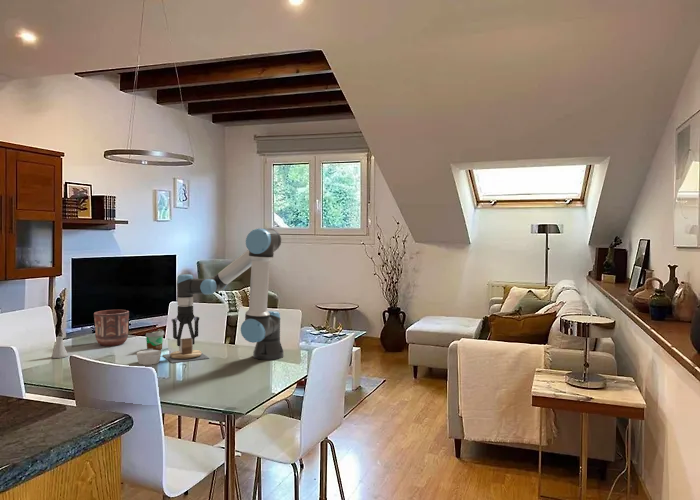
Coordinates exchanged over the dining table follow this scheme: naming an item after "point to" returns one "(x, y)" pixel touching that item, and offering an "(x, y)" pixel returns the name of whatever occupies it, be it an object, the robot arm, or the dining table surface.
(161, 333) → the food container
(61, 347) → the flask
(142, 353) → the ramekin
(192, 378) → the dining table surface
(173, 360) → the rubber mat
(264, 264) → the robot arm
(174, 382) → the dining table surface
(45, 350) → the dining table surface
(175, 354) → the oak lid
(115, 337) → the pottery
